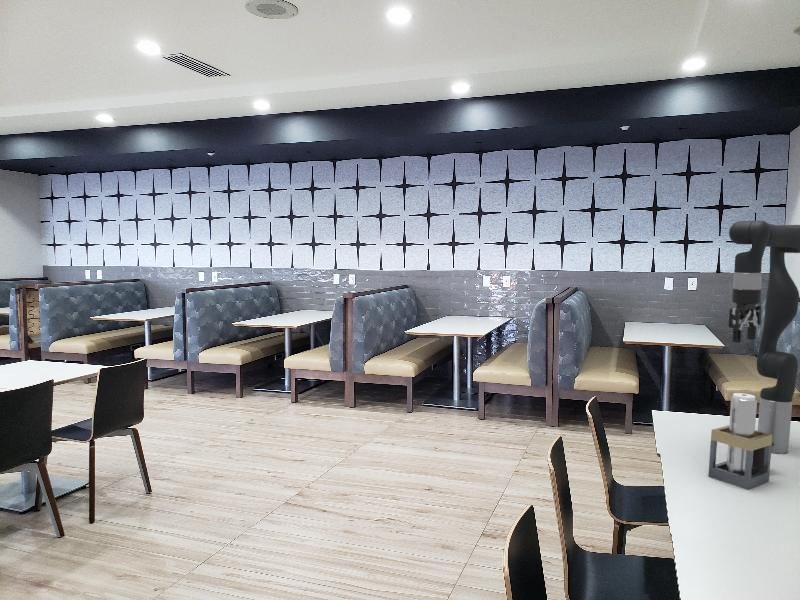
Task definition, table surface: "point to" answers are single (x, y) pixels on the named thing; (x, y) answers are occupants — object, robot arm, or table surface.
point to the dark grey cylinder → (759, 457)
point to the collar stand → (749, 445)
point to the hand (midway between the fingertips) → (744, 340)
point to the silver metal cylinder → (741, 429)
